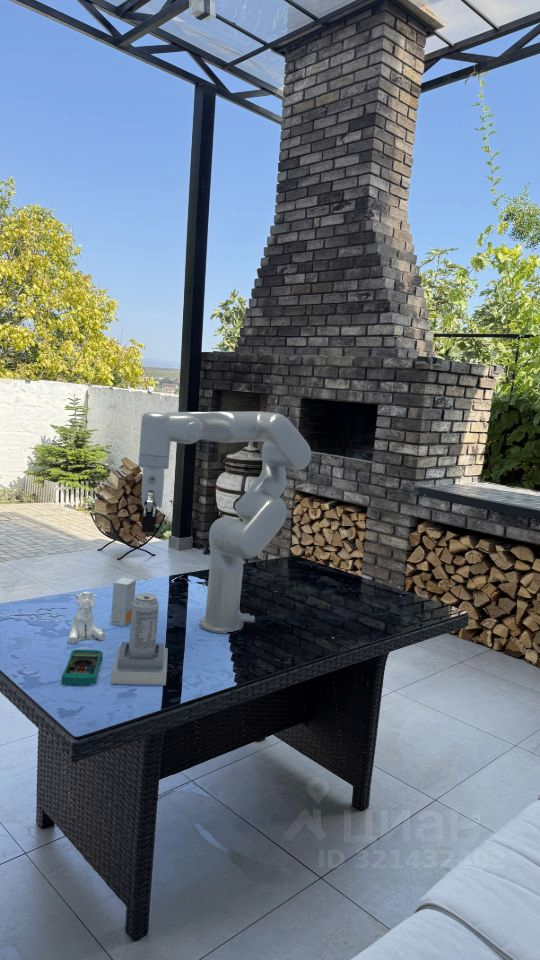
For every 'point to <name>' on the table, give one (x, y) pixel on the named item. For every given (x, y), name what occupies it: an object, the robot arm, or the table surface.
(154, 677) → the white square stepped base
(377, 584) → the table surface
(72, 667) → the digital multimeter
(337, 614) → the table surface
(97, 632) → the white animal figurine
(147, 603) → the energy drink can
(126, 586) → the skincare box
